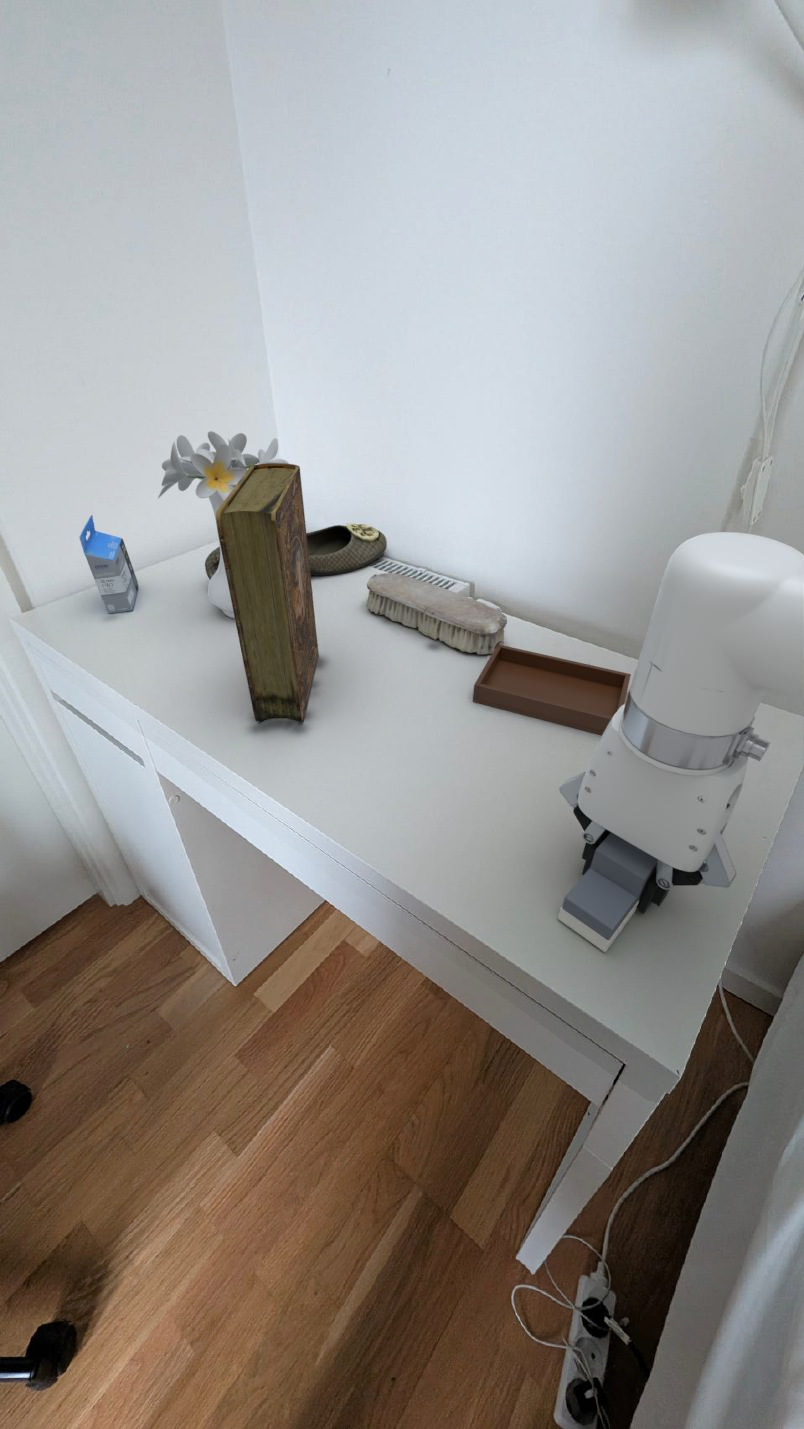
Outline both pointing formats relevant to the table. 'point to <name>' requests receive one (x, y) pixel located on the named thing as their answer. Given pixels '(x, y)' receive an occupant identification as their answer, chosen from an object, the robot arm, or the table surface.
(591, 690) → the tray
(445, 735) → the table surface
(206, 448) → the flower vase
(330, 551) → the flat
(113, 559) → the label tape box
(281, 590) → the book
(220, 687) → the table surface
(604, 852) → the grey stepped block
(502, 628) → the shoe brush
